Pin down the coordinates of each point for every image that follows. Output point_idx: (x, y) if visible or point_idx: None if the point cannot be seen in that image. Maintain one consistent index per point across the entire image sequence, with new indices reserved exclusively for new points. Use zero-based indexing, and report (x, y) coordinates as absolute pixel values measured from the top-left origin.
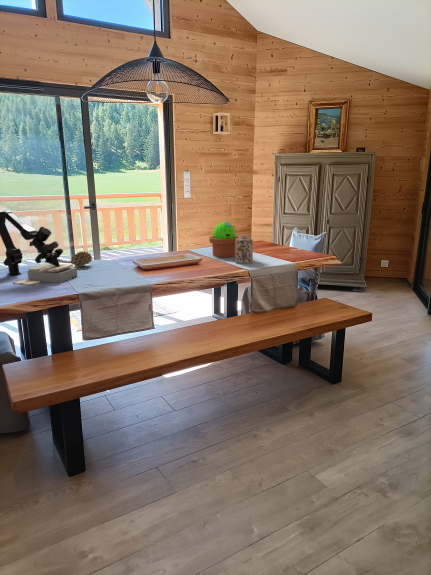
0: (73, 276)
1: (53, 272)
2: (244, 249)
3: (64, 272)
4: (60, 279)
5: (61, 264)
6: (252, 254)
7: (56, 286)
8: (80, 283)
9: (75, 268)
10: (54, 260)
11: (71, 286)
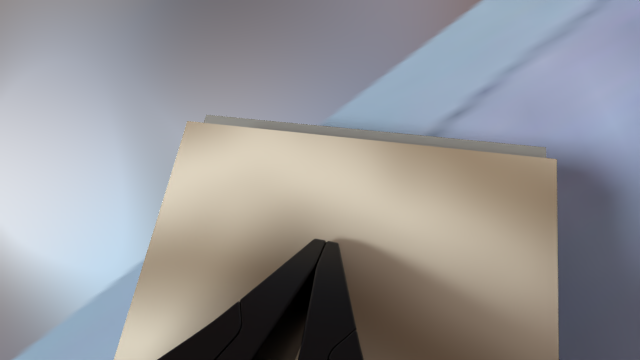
0: None
1: None
2: None
3: (422, 138)
4: None
5: (142, 313)
6: None
7: (624, 144)
8: (459, 24)
9: (226, 119)
10: (343, 352)
11: (565, 35)
